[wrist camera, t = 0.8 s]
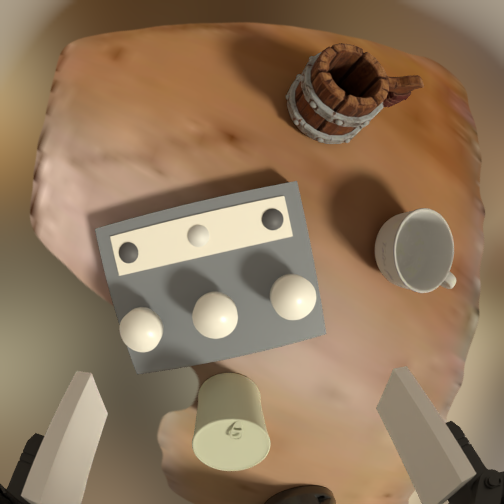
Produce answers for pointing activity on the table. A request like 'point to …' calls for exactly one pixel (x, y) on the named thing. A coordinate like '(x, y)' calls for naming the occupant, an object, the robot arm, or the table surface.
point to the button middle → (215, 315)
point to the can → (230, 424)
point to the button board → (212, 272)
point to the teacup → (416, 251)
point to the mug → (343, 93)
